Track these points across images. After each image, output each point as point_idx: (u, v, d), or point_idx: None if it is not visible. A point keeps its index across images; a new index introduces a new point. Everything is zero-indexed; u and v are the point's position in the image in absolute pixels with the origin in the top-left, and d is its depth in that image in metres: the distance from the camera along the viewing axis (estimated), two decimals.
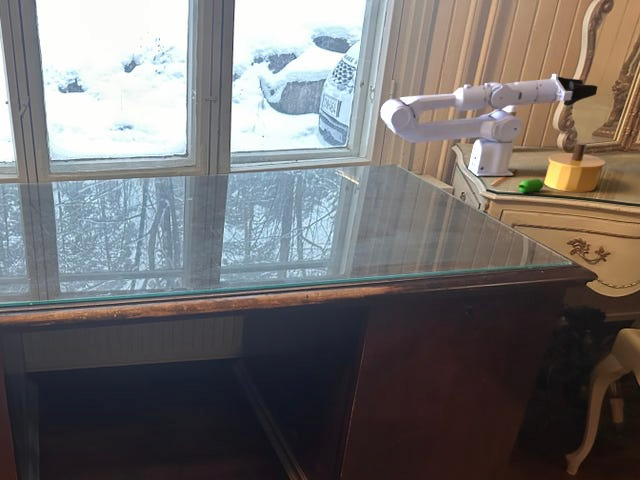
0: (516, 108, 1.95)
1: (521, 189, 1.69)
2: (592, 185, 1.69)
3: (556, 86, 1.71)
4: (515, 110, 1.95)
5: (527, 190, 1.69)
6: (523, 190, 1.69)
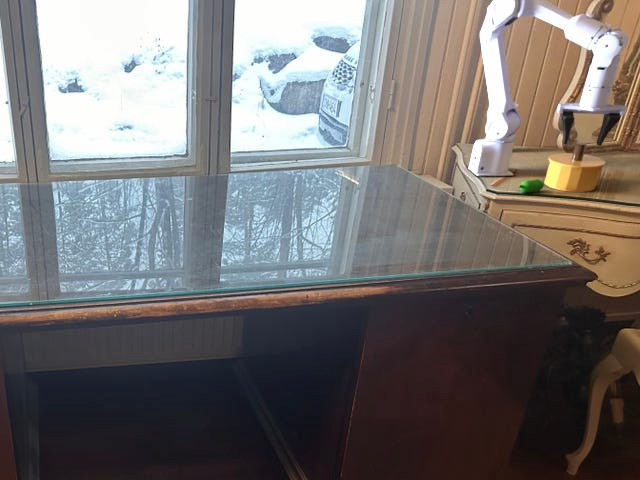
0: (516, 108, 1.95)
1: (521, 189, 1.69)
2: (592, 185, 1.69)
3: (582, 106, 1.64)
4: None
5: (527, 191, 1.69)
6: (523, 190, 1.69)
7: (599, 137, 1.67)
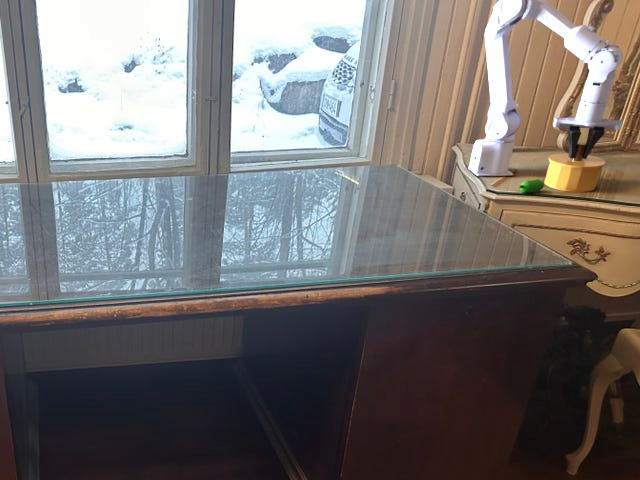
0: None
1: (521, 189, 1.69)
2: (592, 185, 1.69)
3: (578, 120, 1.65)
4: None
5: (527, 191, 1.69)
6: (523, 191, 1.69)
7: None
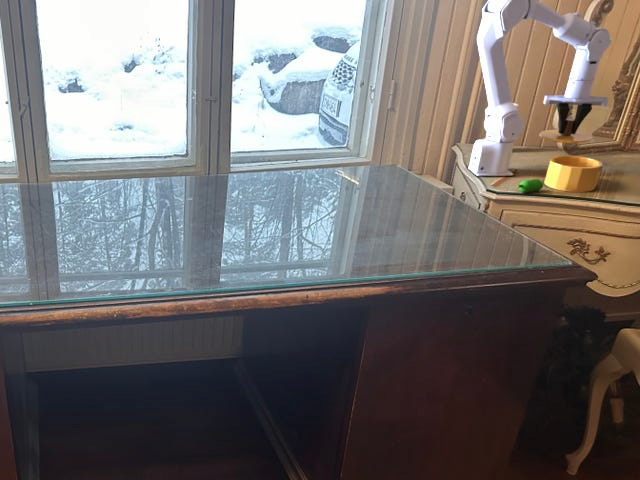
0: (516, 108, 1.95)
1: (521, 189, 1.69)
2: (592, 185, 1.69)
3: (566, 97, 1.75)
4: None
5: (527, 190, 1.69)
6: (523, 190, 1.69)
7: None
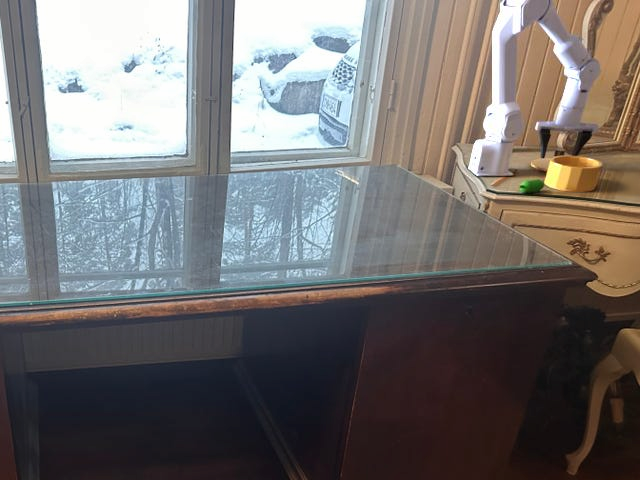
0: None
1: (521, 189, 1.69)
2: (592, 185, 1.69)
3: (558, 124, 1.80)
4: None
5: (527, 191, 1.69)
6: (523, 191, 1.69)
7: (573, 152, 1.84)
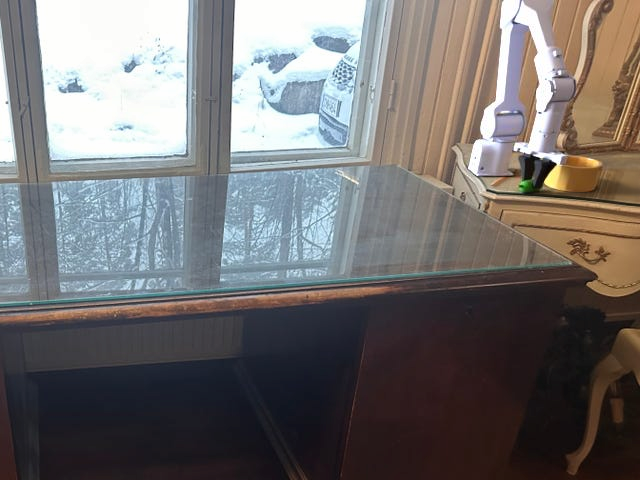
0: None
1: (521, 189, 1.69)
2: (592, 185, 1.69)
3: (528, 147, 1.67)
4: None
5: (527, 190, 1.69)
6: (523, 190, 1.69)
7: None
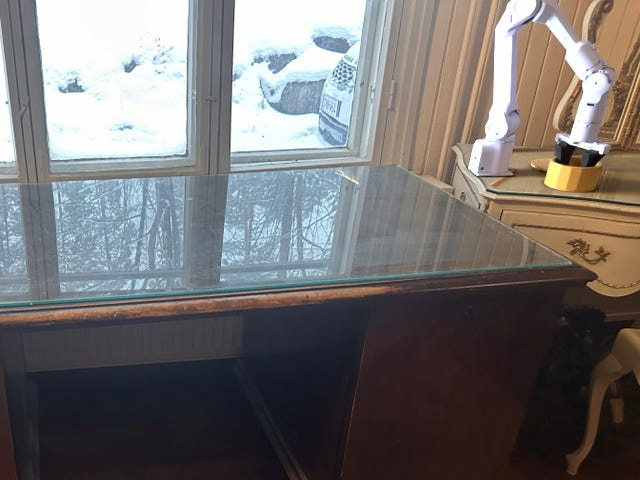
0: None
1: None
2: (592, 185, 1.69)
3: (569, 137, 1.70)
4: None
5: None
6: None
7: None
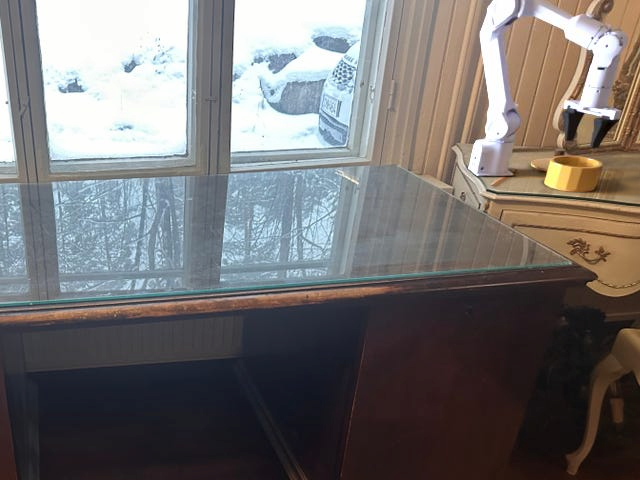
0: (516, 108, 1.95)
1: None
2: (592, 185, 1.69)
3: (579, 104, 1.66)
4: None
5: None
6: None
7: None
